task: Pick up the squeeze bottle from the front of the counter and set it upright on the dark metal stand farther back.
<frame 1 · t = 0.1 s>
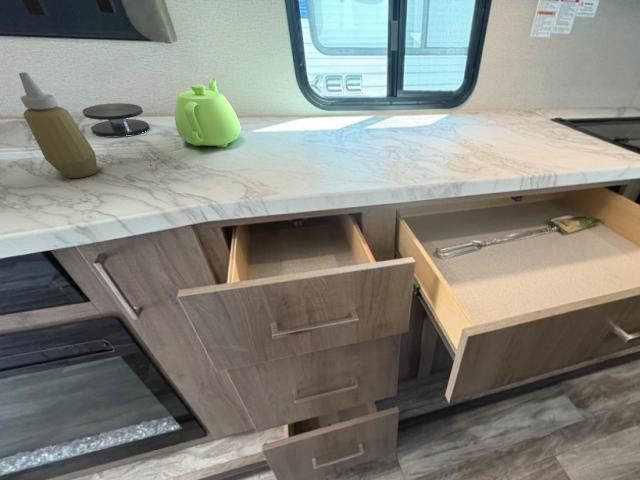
hand: (77, 13, 57), 27 cm above the countertop, tool pointing down, fingers open, 13 cm apart
squeeze bottle: (81, 174, 71), on the countertop
stand: (122, 129, 92), on the countertop
teapot: (215, 140, 92), on the countertop
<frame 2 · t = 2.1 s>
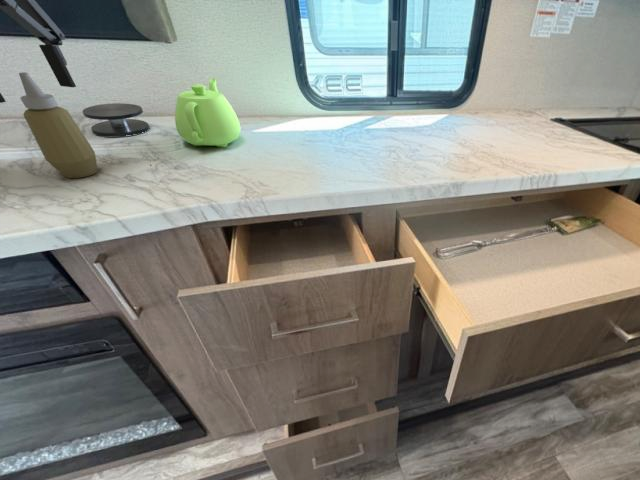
hand: (35, 93, 61), 15 cm above the countertop, tool pointing down, fingers open, 13 cm apart
nothing on the countertop moved.
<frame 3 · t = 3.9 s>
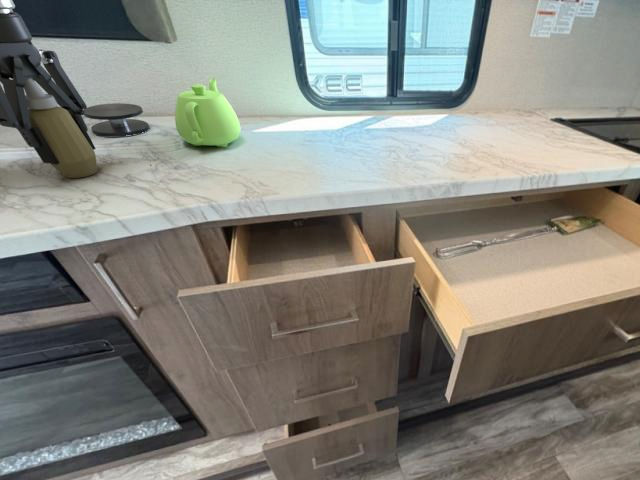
hand: (70, 155, 69), 4 cm above the countertop, tool pointing down, fingers closed on squeeze bottle, 8 cm apart
squeeze bottle: (81, 174, 71), on the countertop, touching gripper
everything else where it was.
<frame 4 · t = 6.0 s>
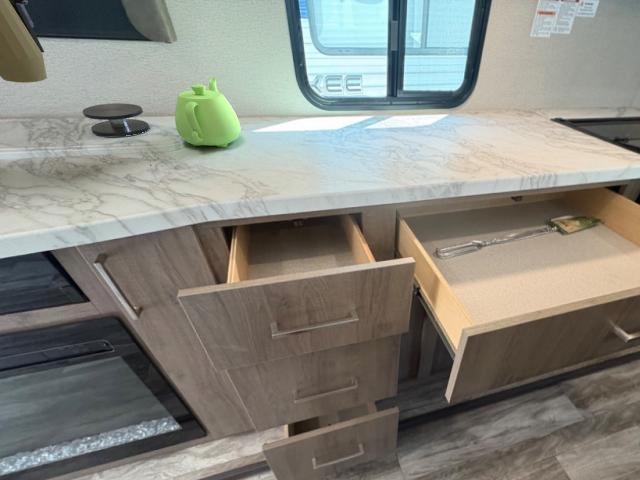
hand: (11, 54, 57), 21 cm above the countertop, tool pointing down, fingers closed on squeeze bottle, 8 cm apart
squeeze bottle: (27, 81, 60), point 17 cm above the countertop, touching gripper
everything else where it was.
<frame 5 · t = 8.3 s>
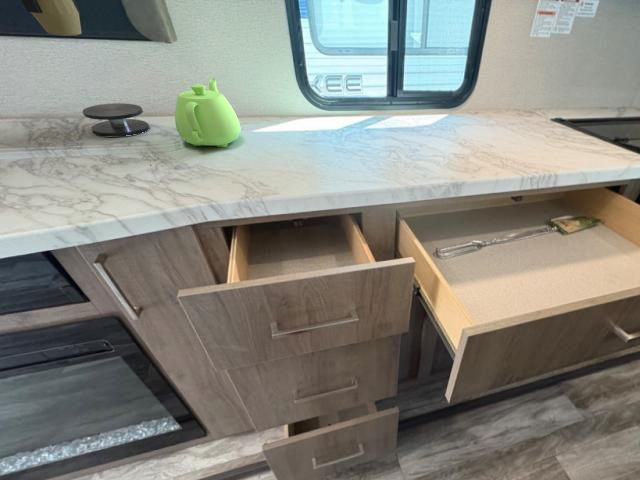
hand: (54, 11, 70), 25 cm above the countertop, tool pointing down, fingers closed on squeeze bottle, 8 cm apart
squeeze bottle: (66, 35, 73), point 21 cm above the countertop, touching gripper
everything else where it was.
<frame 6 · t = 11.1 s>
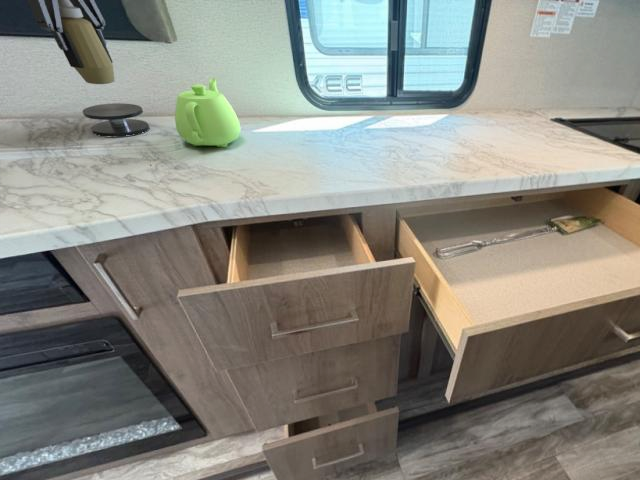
hand: (92, 64, 82), 15 cm above the countertop, tool pointing down, fingers closed on squeeze bottle, 8 cm apart
squeeze bottle: (101, 83, 84), point 11 cm above the countertop, touching gripper
everything else where it was.
when the fingers open (9 cm above the countertop, at t = 13.0 s): squeeze bottle stays where it is, resting on stand.
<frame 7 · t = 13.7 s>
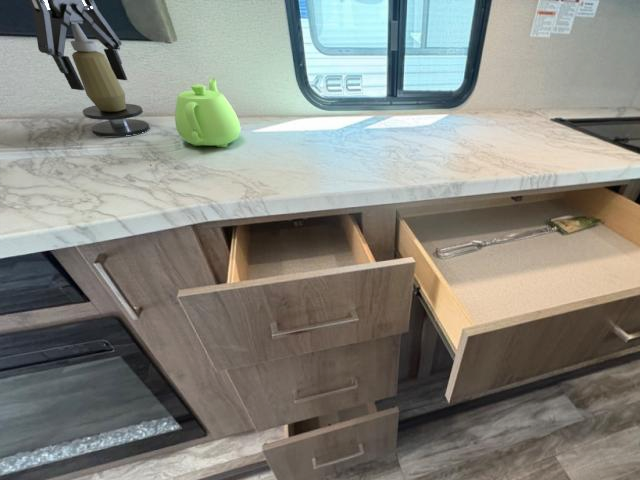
hand: (101, 84, 85), 11 cm above the countertop, tool pointing down, fingers open, 13 cm apart
squeeze bottle: (113, 110, 89), point 5 cm above the countertop, touching stand
everything else where it was.
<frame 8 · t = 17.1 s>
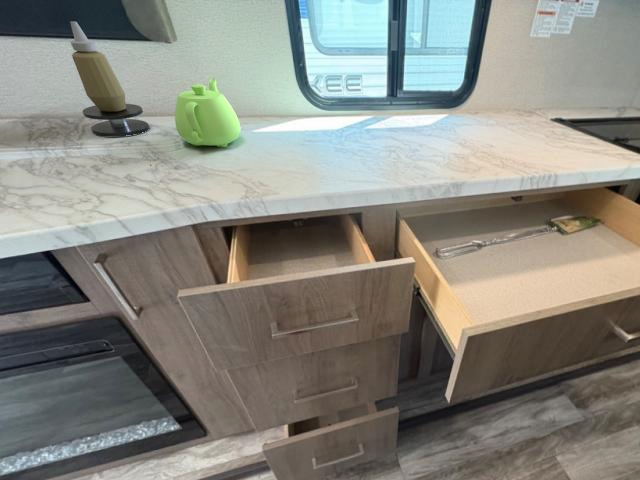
nothing on the countertop moved.
at the end: squeeze bottle 0.1 cm off-centre on the stand, point 4.8 cm above the stand's base; squeeze bottle tilted 0° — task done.
